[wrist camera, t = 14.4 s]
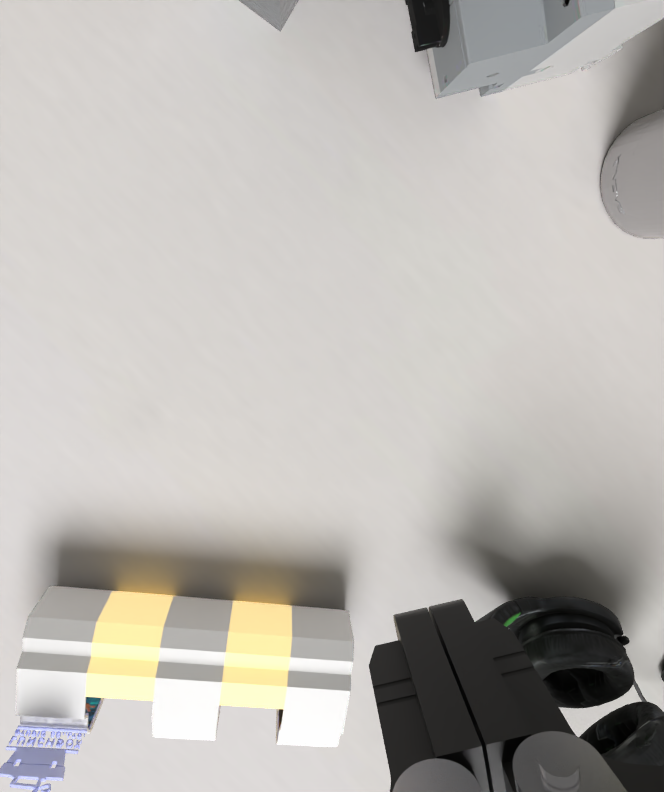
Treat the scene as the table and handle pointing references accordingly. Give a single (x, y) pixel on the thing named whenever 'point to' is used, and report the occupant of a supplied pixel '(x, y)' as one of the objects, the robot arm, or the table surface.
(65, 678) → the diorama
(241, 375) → the table surface
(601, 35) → the grey narrow upright piece
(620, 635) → the headset
